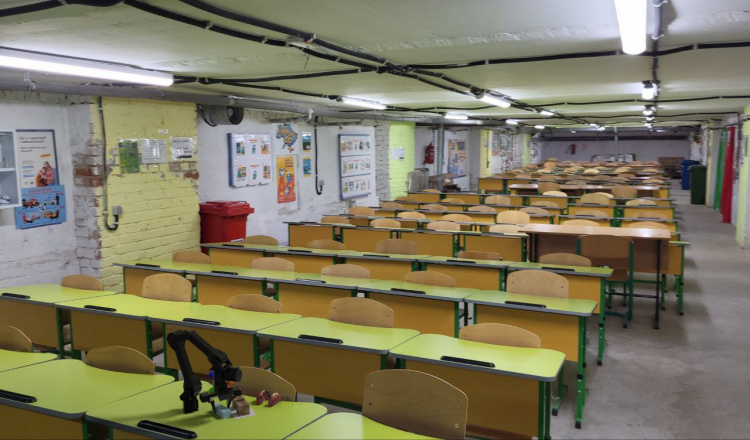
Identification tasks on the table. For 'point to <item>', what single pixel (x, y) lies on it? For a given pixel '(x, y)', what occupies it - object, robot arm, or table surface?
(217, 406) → the light blue block
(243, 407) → the post
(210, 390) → the molecular model
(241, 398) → the post
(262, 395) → the teeth model
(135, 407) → the table surface
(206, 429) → the table surface
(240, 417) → the mat
